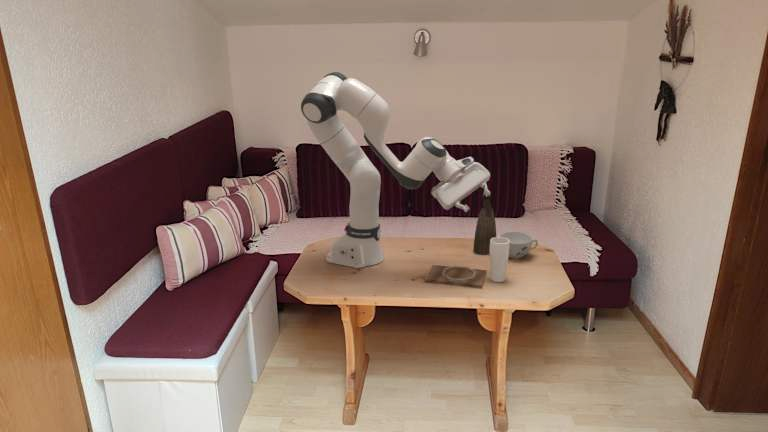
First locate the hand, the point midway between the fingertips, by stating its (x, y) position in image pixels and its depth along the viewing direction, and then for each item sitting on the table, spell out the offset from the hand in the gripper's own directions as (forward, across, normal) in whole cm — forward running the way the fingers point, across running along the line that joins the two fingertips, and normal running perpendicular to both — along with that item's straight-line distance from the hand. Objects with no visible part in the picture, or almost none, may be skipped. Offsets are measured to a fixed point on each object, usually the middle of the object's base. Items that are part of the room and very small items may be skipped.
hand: (478, 202), depth 184 cm
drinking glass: (+22, -6, +20) cm, 30 cm away
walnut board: (+11, -17, +21) cm, 30 cm away
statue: (+7, +4, +39) cm, 40 cm away
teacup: (+17, +12, +36) cm, 41 cm away
